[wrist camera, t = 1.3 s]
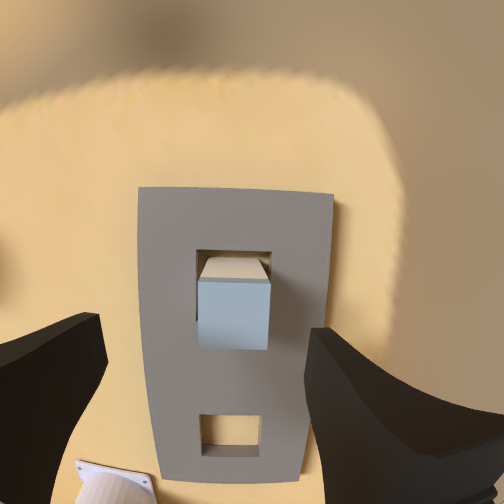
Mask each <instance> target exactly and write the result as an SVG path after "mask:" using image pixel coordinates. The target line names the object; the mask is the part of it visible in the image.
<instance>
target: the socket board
mask: <svg viewBox="0 0 504 504" xmlns="http://www.w3.org/2000/svg"><path fill="white" fill-rule="evenodd" d="M333 203H334V194H325V193H312V192H297V191H280V190H260V189H236V188H198V187H139V190H138V231H137V249H138V290H139V310H140V326H141V339H142V351H143V361H144V371H145V379H146V388H147V395H148V403H149V410H150V417H151V423H152V429H153V435H154V441H155V447H156V452H157V457H158V462H159V467H160V472H161V477H162V479H166V480H175V481H186V482H199V483H221V484H259V483H281V482H294V481H299V477H300V473H301V468H302V463H303V458H304V453H305V448H306V443H307V437H308V432H309V426H310V420H311V419H310V415H309V411H308V407H307V403H306V395H305V386H304V371H305V365H306V358H307V352H308V345H309V338H310V331H311V328H324V321H325V312H326V302H327V291H328V280H329V268H330V255H331V240H332V224H333ZM199 249H205V250H238V251H269V267H268V279H269V281H270V283H271V292H270V310H269V327H268V343H267V350H240V349H206V348H198V250H199ZM201 414H207V415H260V420H259V434H258V446H227V445H203V441H202V424H201Z"/></svg>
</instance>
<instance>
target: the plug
mask: <svg viewBox="0 0 504 504" xmlns="http://www.w3.org/2000/svg"><path fill="white" fill-rule="evenodd" d="M270 292H271V283H270V281H269V279H268V277H267V275H266V273H265V271H264V269H263V267H262V265H261V263H260V261H259V259H252V258H219V257H209V259H208V261H207V263H206V265H205V267H204V269H203V272H202V274H201V276H200V278H199V280H198V348H206V349H240V350H267V343H268V327H269V310H270Z"/></svg>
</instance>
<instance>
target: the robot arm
mask: <svg viewBox="0 0 504 504" xmlns="http://www.w3.org/2000/svg"><path fill="white" fill-rule="evenodd" d="M107 365H108V358H107V353H106V348H105V343H104V338H103V333H102V328H101V322H100V316H99V314H95V313H87V312H83V313H80V314H76V315H74V316H71V317H68V318H66V319H64V320H61V321H59V322H56V323H54V324H52V325H50V326H47V327H45V328H43V329H40V330H38V331H35V332H33V333H30V334H28V335H25V336H23V337H20V338H18V339H15V340H12V341H9V342H6V343H3V344H0V504H50V501H51V496H52V492H53V488H54V483H55V479H56V476H57V472H58V469H59V466H60V463H61V460H62V456H63V454H64V451H65V448H66V446H67V443H68V441H69V438H70V436H71V434H72V432H73V430H74V428H75V426H76V424H77V422H78V421H79V419H80V417H81V415H82V414H83V412H84V410H85V409H86V407H87V405H88V403H89V402H90V400H91V398H92V397H93V395H94V393H95V391H96V390H97V388H98V386H99V384H100V382H101V380H102V377H103V375H104V373H105V370H106V367H107ZM304 386H305V395H306V403H307V407H308V411H309V415H310V419H311V423H312V427H313V431H314V434H315V438H316V442H317V446H318V450H319V454H320V460H321V465H322V473H323V482H324V492H325V504H495V503H494V501H493V499H494V498H495V497H496V496H497V493H498V492H497V490H496V488H495V487H494V484H495V482H496V481H497V480H498V479H499V478H500V477H501V475H502V474H503V473H504V415H502V414H496V413H491V412H485V411H479V410H474V409H470V408H467V407H463V406H460V405H456V404H452V403H450V402H447V401H444V400H441V399H439V398H436V397H434V396H431V395H429V394H426V393H424V392H422V391H420V390H418V389H415V388H413V387H412V386H410V385H408V384H406V383H404V382H402V381H401V380H399V379H397V378H395V377H394V376H392V375H390V374H389V373H387V372H386V371H384V370H383V369H381V368H380V367H378V366H377V365H376V364H374V363H373V362H371V361H370V360H369V359H367V358H366V357H365V356H363V355H362V354H361V353H360V352H358V351H357V350H356V349H355V348H354V347H352V346H351V345H350V344H349V343H348V342H346V341H345V340H344V339H343V338H342V337H340V336H339V335H338V334H337V333H336V332H334V331H333V330H332V329H330V328H311V331H310V338H309V345H308V352H307V358H306V365H305V371H304ZM75 466H76V468H77V471H78V473H79V475H80V478H81V480H82V482H83V486H82V488H81V490H80V492H79V494H78V496H77V499H76V501H75V503H74V504H157V500H156V497H155V493H154V489H153V486H152V482H151V478H150V476H149V475H147V474H143V473H137V472H131V471H125V470H120V469H115V468H110V467H105V466H101V465H96V464H92V463H88V462H84V461H80V460H76V461H75ZM501 504H504V501H503V502H502V503H501Z"/></svg>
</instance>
